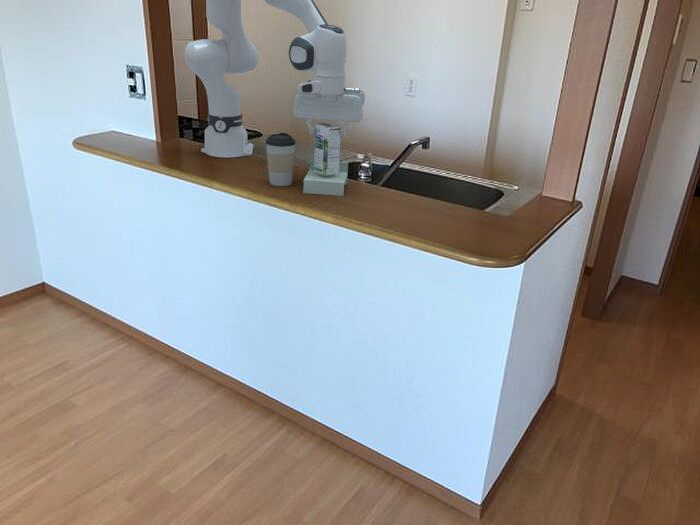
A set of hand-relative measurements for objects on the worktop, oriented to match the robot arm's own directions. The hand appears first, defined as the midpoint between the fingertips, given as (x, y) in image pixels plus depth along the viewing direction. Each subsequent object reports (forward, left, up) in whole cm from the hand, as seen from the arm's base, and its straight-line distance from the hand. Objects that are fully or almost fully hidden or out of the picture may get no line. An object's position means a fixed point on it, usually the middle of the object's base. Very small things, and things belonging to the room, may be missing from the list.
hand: (327, 135), depth 164 cm
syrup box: (0, 0, -12) cm, 12 cm away
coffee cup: (-2, -14, -16) cm, 22 cm away
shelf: (0, 0, -16) cm, 16 cm away
